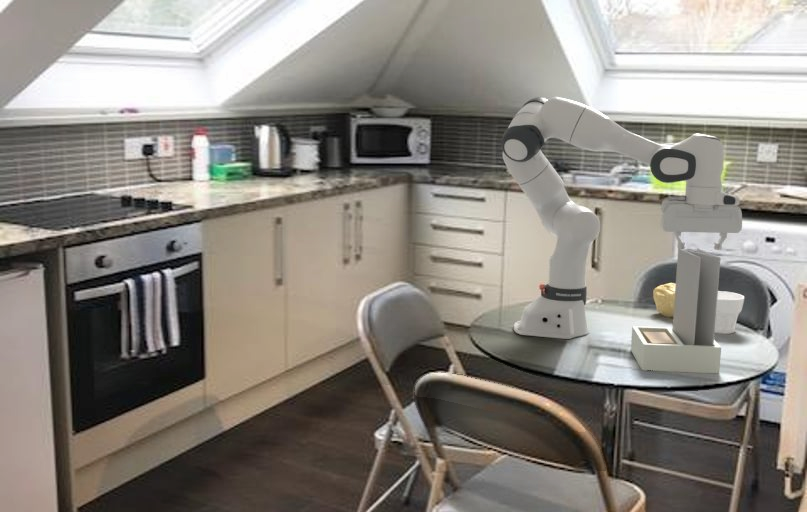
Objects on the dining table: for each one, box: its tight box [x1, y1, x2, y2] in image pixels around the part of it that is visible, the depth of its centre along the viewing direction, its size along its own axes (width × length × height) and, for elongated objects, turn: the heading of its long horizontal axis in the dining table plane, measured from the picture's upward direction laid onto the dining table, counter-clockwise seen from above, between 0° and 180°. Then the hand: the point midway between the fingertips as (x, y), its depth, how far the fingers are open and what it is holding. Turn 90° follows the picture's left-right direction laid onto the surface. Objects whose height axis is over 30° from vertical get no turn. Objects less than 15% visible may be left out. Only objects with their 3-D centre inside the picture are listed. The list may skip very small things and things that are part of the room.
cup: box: [714, 290, 745, 335], centre depth 266 cm, size 12×12×11 cm
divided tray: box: [630, 325, 722, 374], centre depth 234 cm, size 20×18×7 cm
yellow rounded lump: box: [653, 282, 676, 318], centre depth 283 cm, size 11×12×11 cm
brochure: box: [672, 247, 721, 346], centre depth 231 cm, size 14×6×30 cm, turn 4°
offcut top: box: [643, 332, 675, 344], centre depth 234 cm, size 6×11×4 cm, turn 177°
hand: (699, 249), depth 228 cm, fingers open, 8 cm apart
